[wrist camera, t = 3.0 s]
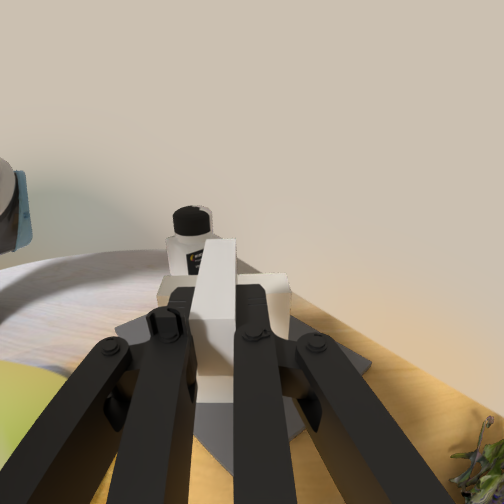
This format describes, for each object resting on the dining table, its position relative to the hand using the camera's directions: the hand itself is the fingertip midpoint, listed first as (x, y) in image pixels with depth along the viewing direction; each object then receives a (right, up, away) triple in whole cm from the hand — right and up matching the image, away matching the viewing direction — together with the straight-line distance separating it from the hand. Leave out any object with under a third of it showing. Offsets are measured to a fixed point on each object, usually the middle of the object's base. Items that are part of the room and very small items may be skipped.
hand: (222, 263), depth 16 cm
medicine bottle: (-7, -4, +36) cm, 37 cm away
